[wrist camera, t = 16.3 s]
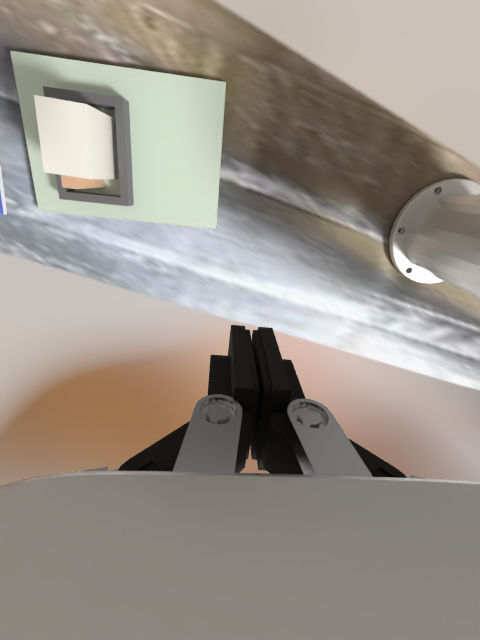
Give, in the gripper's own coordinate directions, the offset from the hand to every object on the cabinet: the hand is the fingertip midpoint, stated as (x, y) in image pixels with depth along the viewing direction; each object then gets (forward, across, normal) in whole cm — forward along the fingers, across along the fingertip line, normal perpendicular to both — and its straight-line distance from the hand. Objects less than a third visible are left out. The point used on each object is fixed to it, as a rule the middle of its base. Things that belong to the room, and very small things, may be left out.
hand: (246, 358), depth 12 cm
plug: (+26, +15, -8) cm, 31 cm away
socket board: (+27, +12, -8) cm, 31 cm away
